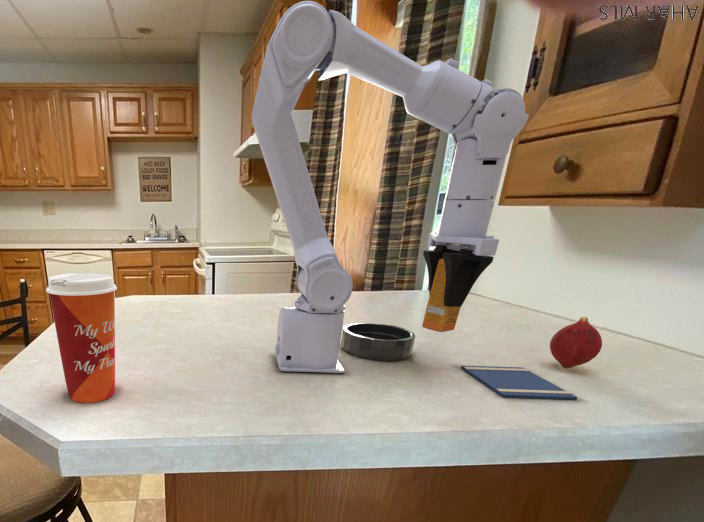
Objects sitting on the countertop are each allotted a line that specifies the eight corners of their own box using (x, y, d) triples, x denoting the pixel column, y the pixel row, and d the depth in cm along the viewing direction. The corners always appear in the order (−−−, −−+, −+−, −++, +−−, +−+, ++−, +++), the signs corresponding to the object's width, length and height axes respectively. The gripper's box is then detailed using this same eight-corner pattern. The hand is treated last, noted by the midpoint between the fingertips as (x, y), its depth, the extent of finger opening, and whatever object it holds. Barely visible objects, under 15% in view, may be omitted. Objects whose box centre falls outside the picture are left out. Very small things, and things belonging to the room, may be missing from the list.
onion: (600, 376, 62) (622, 323, 59) (556, 373, 63) (575, 320, 60) (576, 363, 67) (595, 313, 64) (535, 360, 68) (552, 311, 65)
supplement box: (442, 333, 60) (460, 261, 57) (421, 327, 63) (436, 258, 59) (457, 330, 62) (475, 259, 58) (435, 325, 65) (451, 257, 61)
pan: (350, 360, 68) (353, 339, 67) (334, 340, 78) (336, 322, 77) (422, 362, 67) (427, 341, 66) (396, 342, 77) (400, 323, 76)
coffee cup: (92, 412, 50) (80, 284, 44) (45, 397, 54) (28, 278, 48) (137, 389, 57) (131, 275, 51) (92, 376, 61) (82, 270, 55)
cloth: (503, 397, 55) (504, 393, 55) (460, 367, 65) (461, 364, 65) (576, 400, 54) (577, 396, 54) (521, 369, 64) (522, 366, 64)
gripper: (537, 199, 49) (503, 315, 54) (471, 201, 62) (449, 294, 67) (474, 199, 49) (446, 313, 55) (422, 201, 63) (404, 293, 68)
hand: (444, 302), depth 61 cm, fingers closed on supplement box, 4 cm apart
